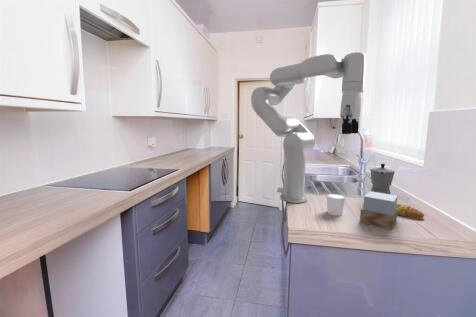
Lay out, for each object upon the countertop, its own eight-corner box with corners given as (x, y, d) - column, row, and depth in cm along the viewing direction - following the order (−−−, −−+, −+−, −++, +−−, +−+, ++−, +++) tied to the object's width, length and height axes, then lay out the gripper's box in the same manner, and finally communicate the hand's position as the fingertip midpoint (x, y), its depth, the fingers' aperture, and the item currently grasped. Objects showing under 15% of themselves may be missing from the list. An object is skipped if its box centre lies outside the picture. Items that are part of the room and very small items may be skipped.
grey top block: (363, 209, 86) (364, 196, 85) (368, 203, 93) (370, 191, 92) (392, 215, 80) (393, 201, 79) (396, 208, 87) (397, 195, 86)
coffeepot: (391, 208, 101) (396, 166, 99) (366, 204, 106) (370, 164, 103) (391, 199, 114) (394, 162, 112) (368, 195, 119) (372, 160, 116)
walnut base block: (359, 222, 87) (360, 209, 86) (366, 215, 94) (367, 202, 94) (391, 230, 80) (393, 216, 80) (396, 221, 88) (397, 208, 87)
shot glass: (328, 208, 100) (329, 192, 99) (346, 212, 96) (347, 195, 95) (323, 213, 95) (324, 196, 94) (340, 217, 91) (342, 199, 90)
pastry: (425, 217, 92) (426, 208, 91) (420, 222, 88) (421, 212, 87) (398, 210, 99) (399, 201, 98) (391, 214, 95) (392, 205, 94)
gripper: (348, 91, 99) (346, 133, 101) (334, 86, 86) (332, 134, 88) (369, 89, 94) (366, 133, 96) (357, 83, 81) (354, 134, 83)
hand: (350, 133), depth 92 cm, fingers open, 9 cm apart
